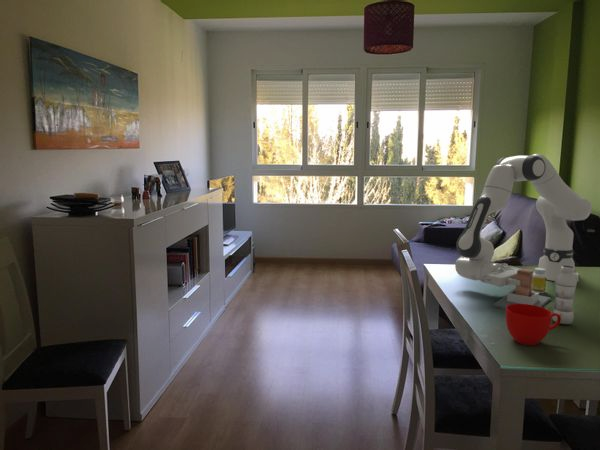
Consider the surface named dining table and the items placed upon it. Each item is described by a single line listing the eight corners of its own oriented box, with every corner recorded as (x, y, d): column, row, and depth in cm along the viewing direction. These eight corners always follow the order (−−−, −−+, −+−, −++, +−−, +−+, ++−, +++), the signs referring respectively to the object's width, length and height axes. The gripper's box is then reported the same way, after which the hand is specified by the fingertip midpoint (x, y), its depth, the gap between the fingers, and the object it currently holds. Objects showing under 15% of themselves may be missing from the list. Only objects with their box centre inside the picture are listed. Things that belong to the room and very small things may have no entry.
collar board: (513, 292, 203) (514, 283, 202) (550, 299, 194) (551, 290, 194) (493, 306, 185) (494, 296, 184) (532, 314, 176) (533, 304, 175)
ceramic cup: (570, 349, 146) (574, 317, 145) (516, 350, 145) (519, 317, 143) (546, 332, 159) (549, 303, 158) (496, 333, 158) (498, 303, 156)
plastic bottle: (572, 327, 164) (578, 270, 161) (549, 323, 167) (555, 267, 164) (573, 322, 169) (579, 266, 166) (551, 318, 173) (557, 263, 170)
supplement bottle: (546, 293, 202) (548, 270, 201) (532, 292, 203) (534, 270, 202) (542, 290, 207) (545, 267, 206) (529, 289, 209) (531, 266, 207)
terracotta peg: (518, 298, 193) (521, 268, 191) (530, 300, 190) (533, 270, 188) (514, 300, 189) (517, 270, 187) (526, 303, 186) (529, 272, 184)
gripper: (479, 269, 191) (513, 277, 180) (506, 262, 204) (539, 269, 193) (478, 285, 192) (512, 293, 181) (505, 277, 205) (538, 284, 194)
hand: (526, 281), depth 187 cm, fingers open, 8 cm apart
